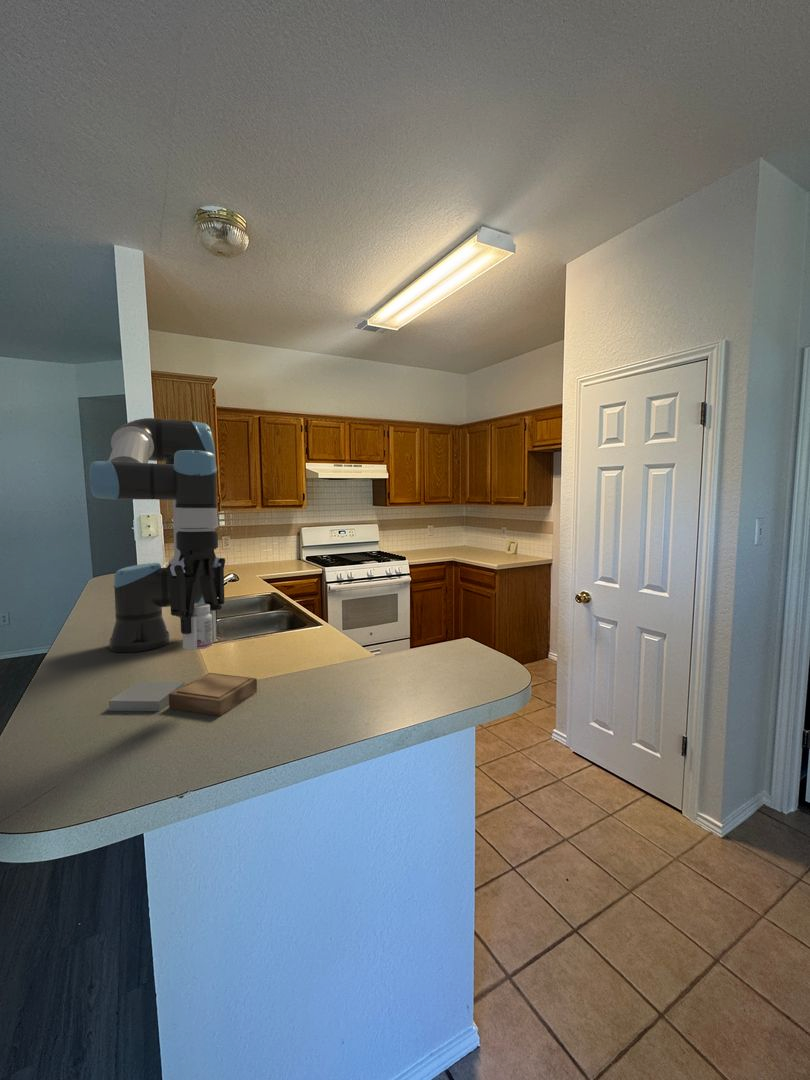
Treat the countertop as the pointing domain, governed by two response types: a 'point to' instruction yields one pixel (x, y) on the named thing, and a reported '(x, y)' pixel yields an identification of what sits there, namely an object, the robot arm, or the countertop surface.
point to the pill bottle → (203, 625)
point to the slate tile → (144, 696)
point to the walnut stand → (213, 694)
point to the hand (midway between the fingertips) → (200, 644)
